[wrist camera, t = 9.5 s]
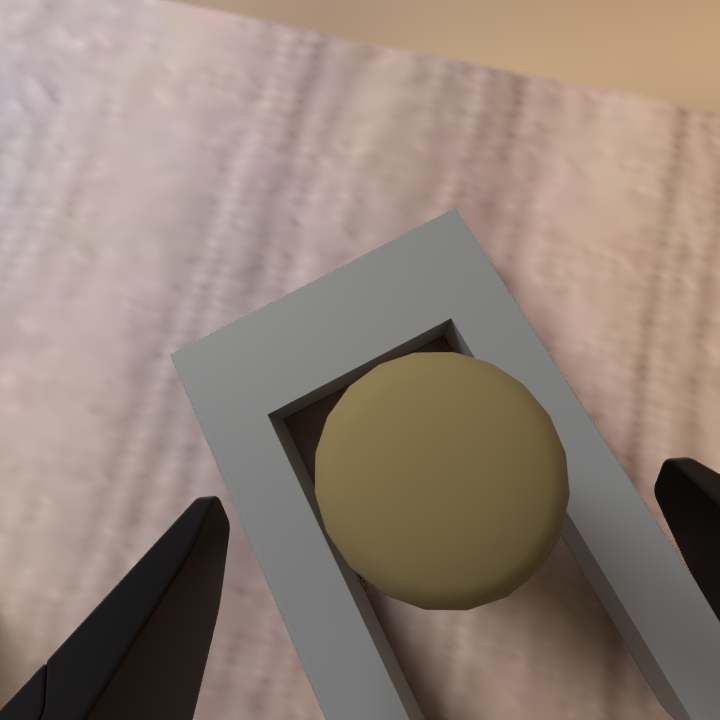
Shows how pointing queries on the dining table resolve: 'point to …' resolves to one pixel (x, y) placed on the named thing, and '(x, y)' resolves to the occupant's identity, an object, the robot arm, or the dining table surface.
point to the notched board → (348, 364)
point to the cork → (441, 480)
